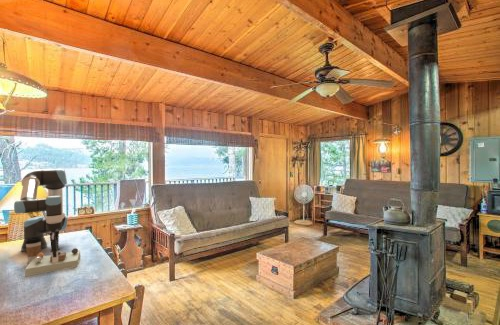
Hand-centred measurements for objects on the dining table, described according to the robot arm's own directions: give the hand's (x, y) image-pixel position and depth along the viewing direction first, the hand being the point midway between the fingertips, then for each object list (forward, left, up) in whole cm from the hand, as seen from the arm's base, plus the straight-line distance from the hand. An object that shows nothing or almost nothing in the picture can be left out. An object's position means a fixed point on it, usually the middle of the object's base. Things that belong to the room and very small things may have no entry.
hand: (55, 262), depth 153 cm
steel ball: (-11, -10, 0) cm, 15 cm away
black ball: (-18, +8, 0) cm, 19 cm away
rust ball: (-20, -11, 0) cm, 22 cm away
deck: (-13, -2, -6) cm, 14 cm away
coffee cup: (-31, -16, -6) cm, 35 cm away
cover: (-11, 0, -2) cm, 11 cm away
